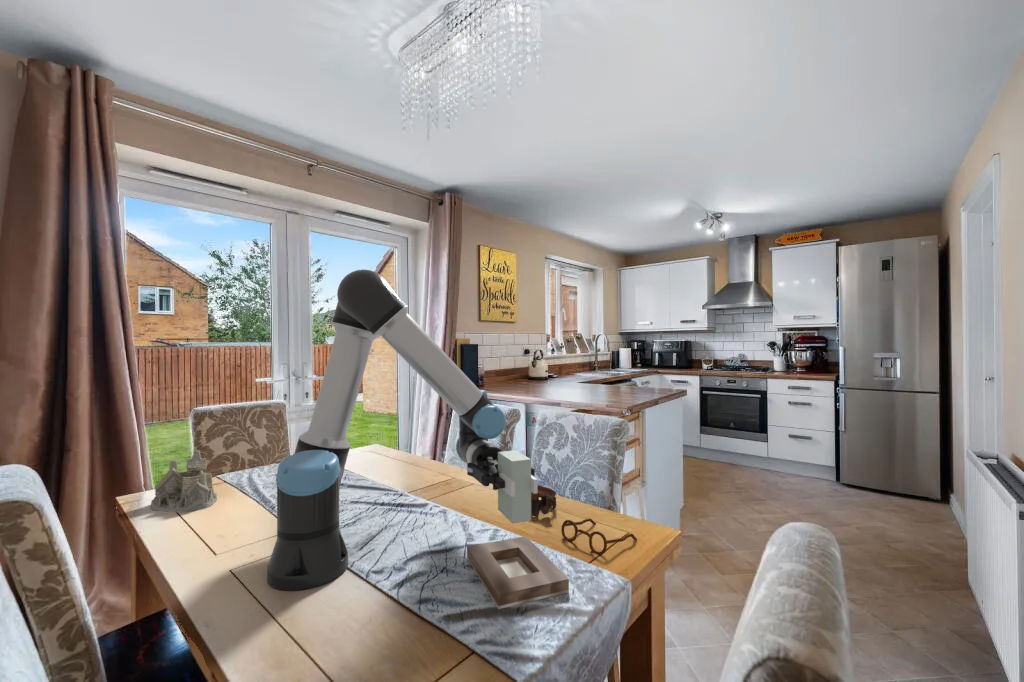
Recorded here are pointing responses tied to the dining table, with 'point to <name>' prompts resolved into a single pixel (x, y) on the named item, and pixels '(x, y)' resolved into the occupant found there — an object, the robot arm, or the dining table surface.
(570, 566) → the dining table surface
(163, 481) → the ceramic cottage
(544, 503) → the brown piece
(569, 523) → the glasses
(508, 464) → the grey-green rectangular block
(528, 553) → the taupe picture frame
